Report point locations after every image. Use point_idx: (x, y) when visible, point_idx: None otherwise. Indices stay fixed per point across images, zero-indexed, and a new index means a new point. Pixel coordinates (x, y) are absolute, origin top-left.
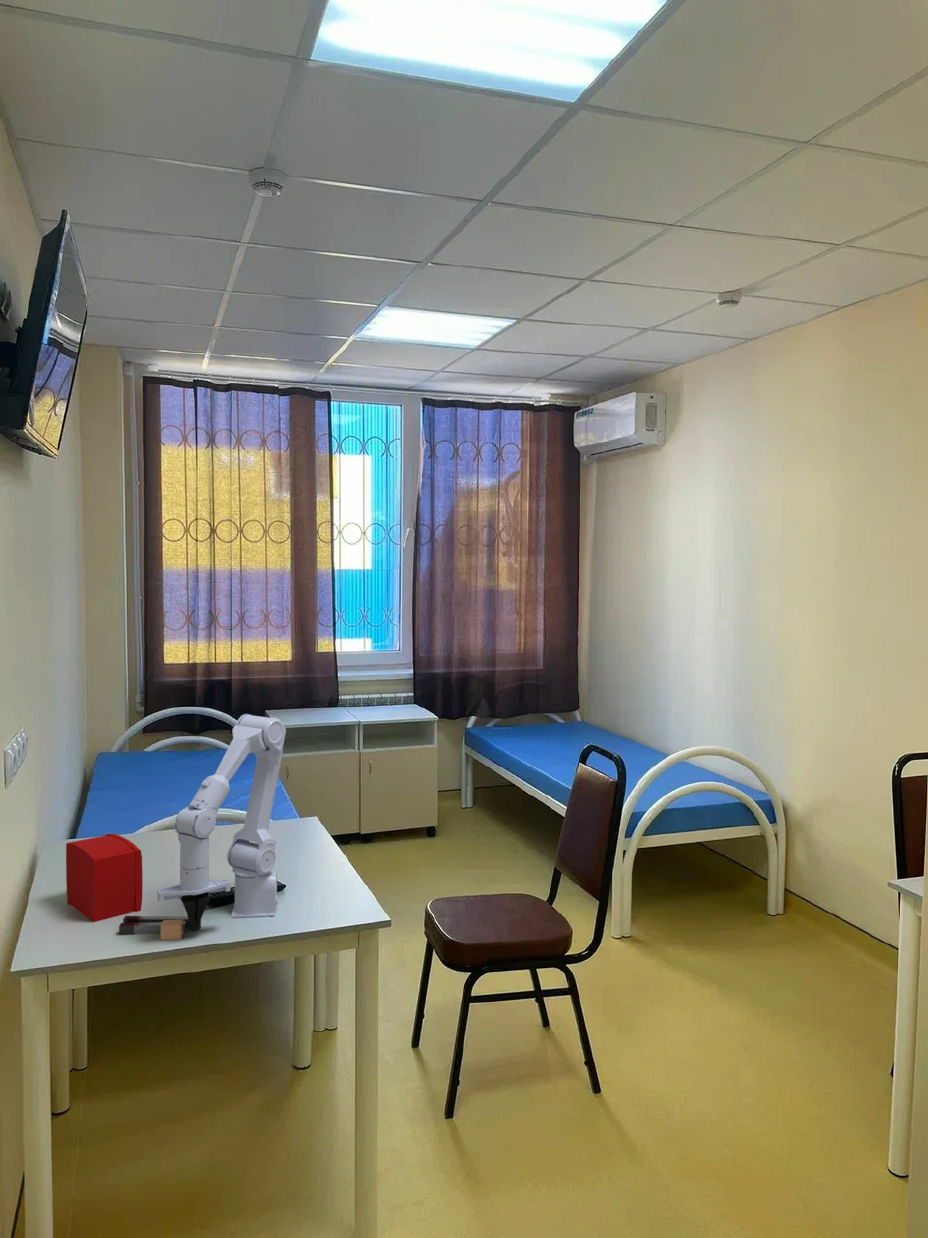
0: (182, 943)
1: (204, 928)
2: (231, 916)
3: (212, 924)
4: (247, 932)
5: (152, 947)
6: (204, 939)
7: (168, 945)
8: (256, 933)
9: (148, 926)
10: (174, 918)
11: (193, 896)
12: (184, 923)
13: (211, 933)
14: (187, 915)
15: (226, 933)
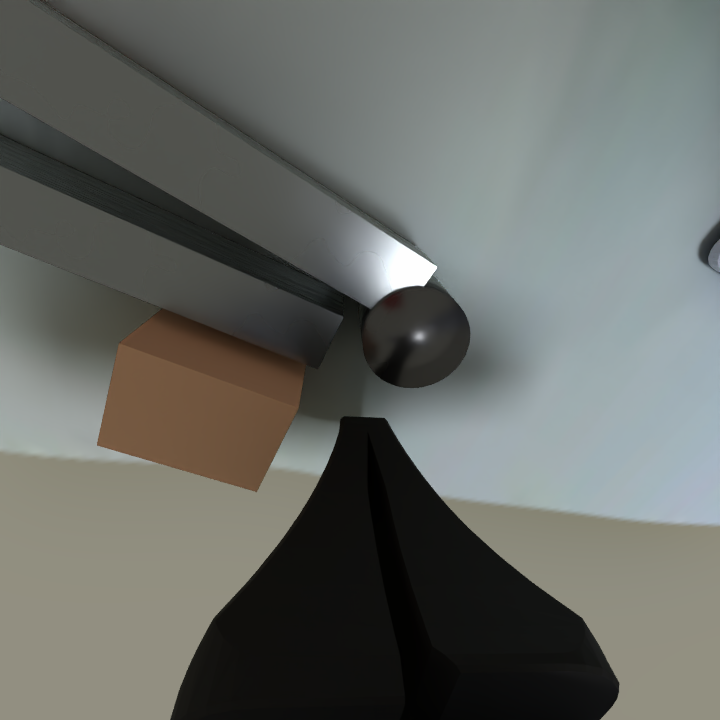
0: None
1: None
2: (716, 256)
3: (541, 281)
4: (610, 475)
5: None
6: None
7: None
8: (631, 500)
9: (4, 240)
10: (258, 224)
11: (414, 665)
12: (320, 357)
13: (462, 408)
14: (323, 474)
15: (525, 442)
